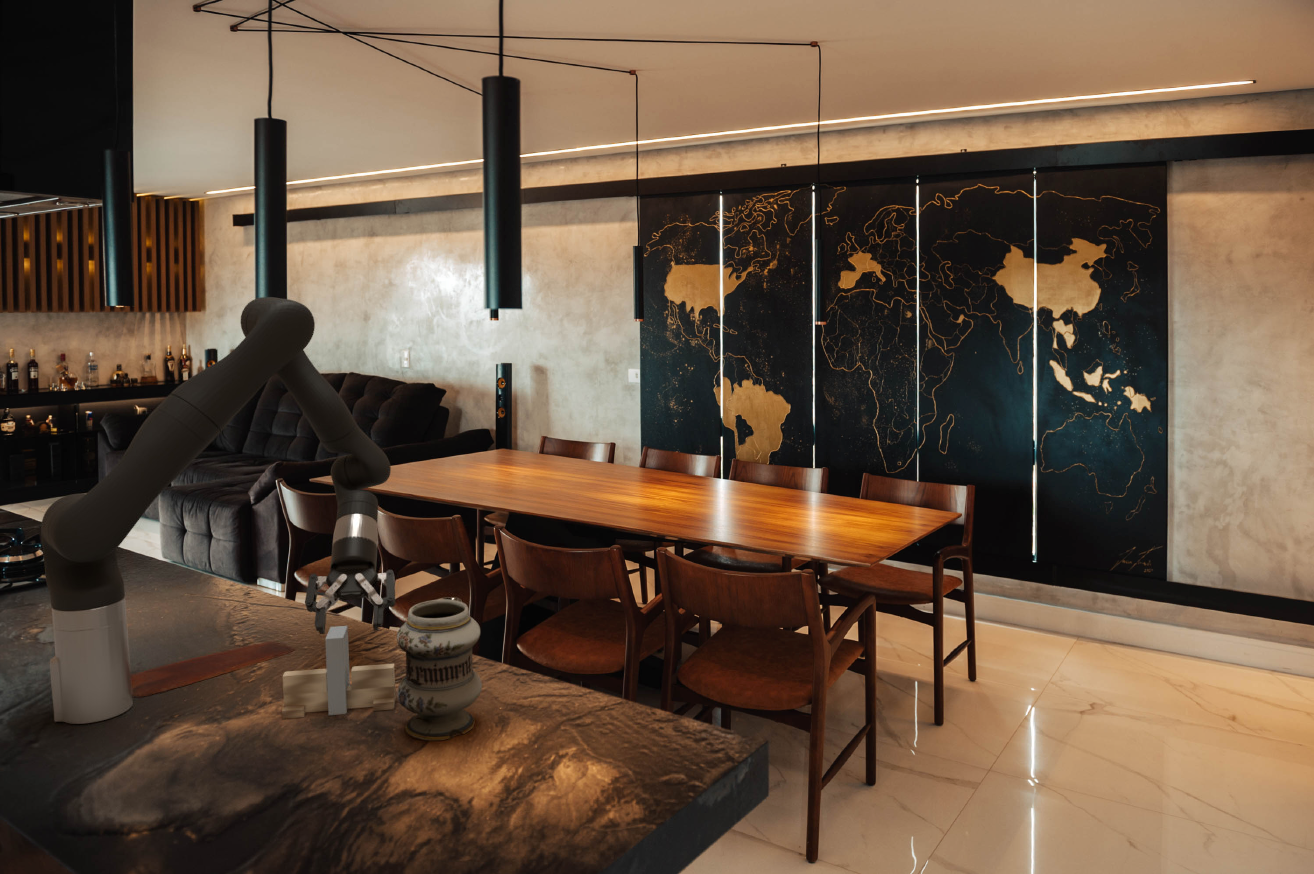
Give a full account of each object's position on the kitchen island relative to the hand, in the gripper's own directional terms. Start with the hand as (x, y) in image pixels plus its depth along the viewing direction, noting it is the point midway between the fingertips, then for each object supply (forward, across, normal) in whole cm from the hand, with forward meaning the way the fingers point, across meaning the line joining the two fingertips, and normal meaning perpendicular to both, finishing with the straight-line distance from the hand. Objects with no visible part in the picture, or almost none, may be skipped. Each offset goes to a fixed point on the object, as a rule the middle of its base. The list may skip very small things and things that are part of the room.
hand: (348, 630), depth 140 cm
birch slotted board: (+14, 0, -1) cm, 14 cm away
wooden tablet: (-1, -24, +14) cm, 28 cm away
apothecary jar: (+20, +15, -8) cm, 27 cm away
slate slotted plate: (+13, 0, -1) cm, 13 cm away
